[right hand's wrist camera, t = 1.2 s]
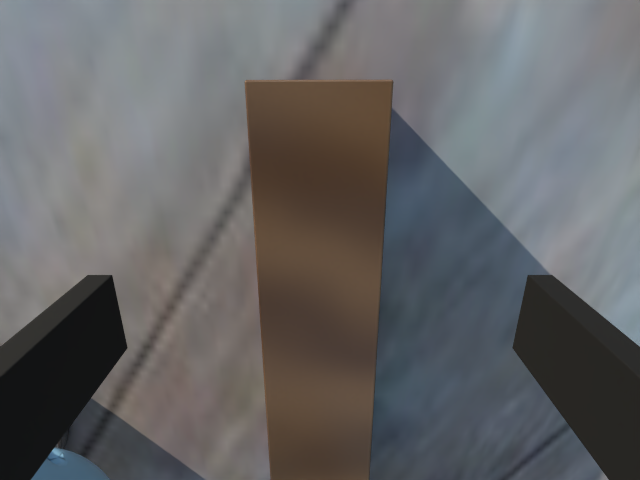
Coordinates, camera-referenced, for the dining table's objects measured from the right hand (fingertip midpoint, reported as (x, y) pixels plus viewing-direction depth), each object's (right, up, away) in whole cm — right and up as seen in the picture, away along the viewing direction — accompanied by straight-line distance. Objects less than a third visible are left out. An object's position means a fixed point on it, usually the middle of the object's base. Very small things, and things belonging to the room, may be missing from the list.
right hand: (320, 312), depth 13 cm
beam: (0, -21, +23) cm, 32 cm away
